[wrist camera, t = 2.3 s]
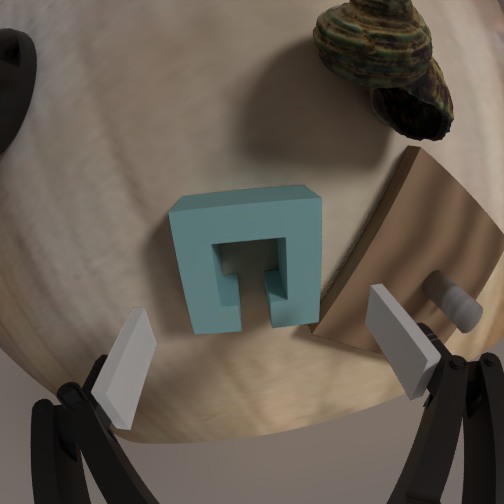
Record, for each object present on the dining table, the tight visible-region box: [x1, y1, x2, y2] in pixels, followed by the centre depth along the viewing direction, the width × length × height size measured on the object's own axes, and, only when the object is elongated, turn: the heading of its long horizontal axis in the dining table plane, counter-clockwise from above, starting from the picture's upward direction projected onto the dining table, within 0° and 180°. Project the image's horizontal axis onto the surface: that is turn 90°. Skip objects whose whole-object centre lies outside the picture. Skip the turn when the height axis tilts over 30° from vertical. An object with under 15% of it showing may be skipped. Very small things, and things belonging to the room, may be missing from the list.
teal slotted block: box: [168, 185, 322, 335], centre depth 22 cm, size 10×10×5 cm
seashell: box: [313, 0, 454, 141], centre depth 14 cm, size 11×11×10 cm
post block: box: [309, 146, 504, 354], centre depth 23 cm, size 20×20×9 cm
